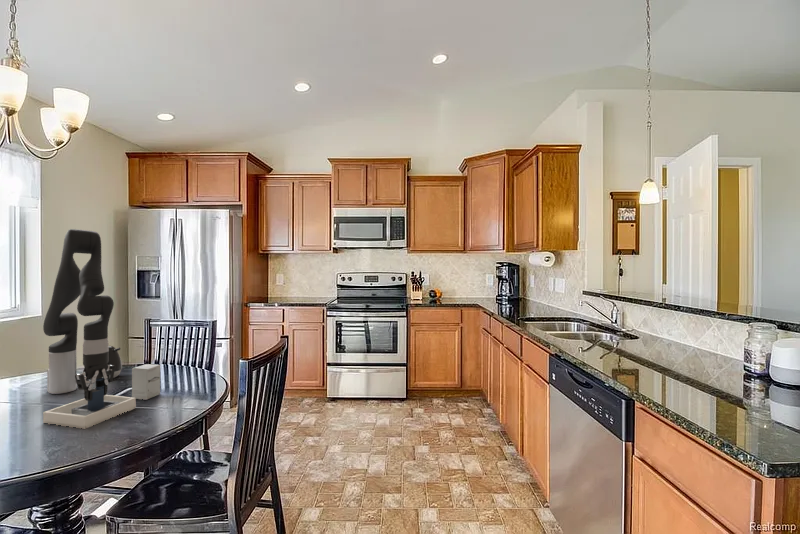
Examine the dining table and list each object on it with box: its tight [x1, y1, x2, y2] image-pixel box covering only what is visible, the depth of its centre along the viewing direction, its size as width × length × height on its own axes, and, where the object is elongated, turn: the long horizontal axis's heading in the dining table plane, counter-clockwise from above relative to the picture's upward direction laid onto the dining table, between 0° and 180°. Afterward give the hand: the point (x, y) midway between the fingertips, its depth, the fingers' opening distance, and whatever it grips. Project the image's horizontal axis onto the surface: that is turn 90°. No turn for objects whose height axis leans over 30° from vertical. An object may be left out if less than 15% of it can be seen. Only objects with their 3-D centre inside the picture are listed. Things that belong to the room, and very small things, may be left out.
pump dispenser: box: [107, 345, 123, 379], centre depth 198 cm, size 10×10×15 cm
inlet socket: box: [72, 401, 120, 416], centre depth 150 cm, size 10×10×3 cm
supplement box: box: [131, 363, 161, 401], centre depth 171 cm, size 7×7×13 cm
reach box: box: [42, 394, 137, 430], centre depth 150 cm, size 18×20×4 cm
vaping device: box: [88, 378, 104, 411], centre depth 150 cm, size 3×5×12 cm, turn 161°
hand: (96, 397), depth 150 cm, fingers closed on vaping device, 5 cm apart
